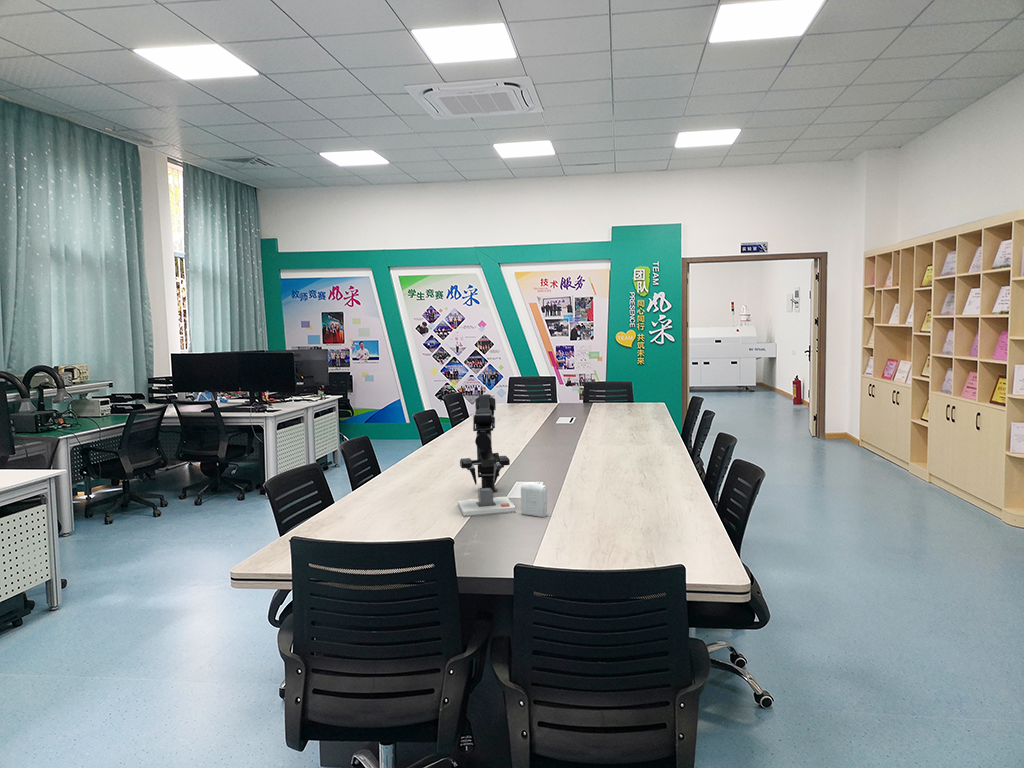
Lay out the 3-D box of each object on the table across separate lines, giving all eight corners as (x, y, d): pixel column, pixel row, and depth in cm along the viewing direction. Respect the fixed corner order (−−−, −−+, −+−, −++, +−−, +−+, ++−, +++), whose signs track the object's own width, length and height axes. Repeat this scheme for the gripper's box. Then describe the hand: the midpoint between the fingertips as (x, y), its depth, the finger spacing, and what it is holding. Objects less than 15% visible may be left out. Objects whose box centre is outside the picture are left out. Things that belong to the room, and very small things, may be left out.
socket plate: (457, 505, 266) (457, 498, 266) (506, 501, 271) (506, 494, 270) (463, 516, 251) (463, 509, 250) (515, 512, 255) (515, 505, 255)
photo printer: (549, 514, 251) (548, 482, 250) (543, 518, 247) (543, 485, 246) (524, 511, 256) (524, 479, 255) (519, 514, 252) (518, 482, 251)
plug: (478, 506, 262) (478, 488, 262) (491, 505, 264) (490, 487, 263) (480, 509, 258) (480, 491, 257) (493, 508, 259) (493, 490, 258)
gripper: (463, 449, 248) (464, 490, 250) (512, 446, 252) (513, 486, 254) (459, 444, 259) (460, 483, 261) (506, 441, 263) (507, 480, 265)
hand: (485, 483), depth 260 cm, fingers open, 7 cm apart
